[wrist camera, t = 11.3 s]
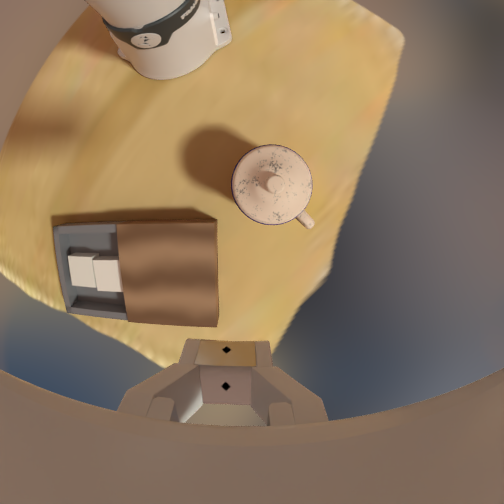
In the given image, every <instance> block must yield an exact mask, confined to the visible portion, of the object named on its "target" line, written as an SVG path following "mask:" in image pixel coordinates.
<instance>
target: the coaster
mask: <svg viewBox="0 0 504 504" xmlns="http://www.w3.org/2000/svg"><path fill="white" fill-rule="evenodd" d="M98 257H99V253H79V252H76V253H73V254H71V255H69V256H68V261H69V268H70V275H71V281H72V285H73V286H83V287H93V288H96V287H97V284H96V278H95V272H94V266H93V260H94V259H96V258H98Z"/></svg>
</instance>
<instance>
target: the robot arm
mask: <svg viewBox="0 0 504 504" xmlns="http://www.w3.org/2000/svg"><path fill="white" fill-rule="evenodd" d="M85 1H86V2H87V3H88V4H89V5H90V6H91V7H93V8H94V9H95V10H96V11H97V12H98V13H99V14H100V15H101V16H102V19H103V22H104V24H105V25H106V28H107V29H108V30H109V31H110V35H111V37H112V38H113V40H114V41H115V43H116V44H117V46H118V47H119V49H118V54H119V56H120V57H121V58H123V59H125V60H127V61H129V62H131V64H132V65H133V67H134V68H135V70H136V71H137V72H139V73H140V74H141V75H143V76H145V77H148V78H151V79H158V80H164V79H172V78H176V77H180V76H183V75H185V74H187V73H189V72H191V71H193V70H195V69H196V68H198V67H199V66H201V65H202V64H203V63H204V62H205V61H206V60H207V59H208V58H209V57H210V56H211V55H212V54H213V53H214V52H215V51H216V50H218V49H220V48H222V47H224V46H226V45H227V44H229V43H230V42H231V41H232V35H231V30H230V26H229V22H228V17H227V13H226V8H225V4H224V0H85ZM221 32H225V33H223V34H222V33H221ZM203 403H206V404H234V405H235V404H236V405H251V407H252V408H253V410H254V411H255V412H256V413H257V414H258V416H259V417H260V418H261V419H262V420H263V422H264V423H265V424H266V425H267V426H218V425H203V424H191V423H185V422H186V421H187V420H188V419H189V418H190V417H191V416H192V415H193V414H194V413H195V412H196V411H197V410H198V409H199V408H200V407H201V406H202V405H203ZM0 504H504V368H502V369H501V370H499V371H497V372H495V373H493V374H491V375H488V376H486V377H484V378H482V379H480V380H477V381H475V382H473V383H471V384H468V385H466V386H463V387H461V388H458V389H456V390H453V391H450V392H448V393H445V394H442V395H439V396H436V397H433V398H430V399H427V400H424V401H421V402H417V403H414V404H411V405H407V406H403V407H400V408H395V409H391V410H387V411H383V412H379V413H374V414H369V415H365V416H359V417H353V418H347V419H342V420H335V421H328V418H327V415H326V411H325V408H324V405H323V402H322V399H321V398H319V397H318V396H317V395H315V394H314V393H312V392H311V391H309V390H308V389H306V388H305V387H304V386H302V385H301V384H300V383H298V382H297V381H296V380H294V379H293V378H292V377H290V376H289V375H288V374H286V373H285V372H283V371H282V370H281V369H280V368H278V367H273V363H272V356H271V350H270V343H269V341H219V340H203V339H187V340H186V342H185V345H184V348H183V351H182V354H181V357H180V360H179V363H174V364H172V365H170V366H169V367H167V368H165V369H164V370H162V371H160V372H159V373H157V374H155V375H153V376H152V377H150V378H148V379H147V380H145V381H143V382H141V383H140V384H138V385H136V386H134V387H133V388H131V389H129V390H127V392H126V394H125V395H124V397H123V400H122V401H121V403H120V406H119V408H118V410H117V411H113V410H109V409H104V408H100V407H97V406H93V405H90V404H86V403H83V402H80V401H76V400H73V399H70V398H67V397H64V396H61V395H58V394H56V393H53V392H50V391H48V390H45V389H42V388H39V387H37V386H35V385H32V384H30V383H28V382H25V381H23V380H21V379H19V378H17V377H14V376H12V375H10V374H8V373H6V372H4V371H2V370H0Z"/></svg>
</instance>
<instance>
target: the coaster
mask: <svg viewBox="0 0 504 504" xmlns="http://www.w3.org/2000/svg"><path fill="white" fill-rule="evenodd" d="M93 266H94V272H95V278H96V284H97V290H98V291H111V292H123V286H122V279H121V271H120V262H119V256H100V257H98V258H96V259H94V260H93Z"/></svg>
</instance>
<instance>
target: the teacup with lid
mask: <svg viewBox="0 0 504 504" xmlns="http://www.w3.org/2000/svg"><path fill="white" fill-rule="evenodd" d="M231 190H232V194H233V198H234V200H235V202H236V204H237V206H238V208H239V209H240V210H241V211H242V212H243V213H244V214H245V215H246V216H247V217H249V218H250V219H252V220H253V221H256V222H258V223H261V224H266V225H279V224H283V223H286V222H289V221H291V220H293V219H294V218H296V219H297V220H298V221H299V222H300V223H301V224H302V225H303V226H304V227H306V228H307V229H311V228H312V227H313V226H314V224H315V223H314V220H313V219H312V218H311V217H310V216H309V215H308V214H307V212H306V211H305V210H304V209H305V208H306V206H307V204H308V202H309V200H310V197H311V194H312V177H311V173H310V170H309V168H308V166H307V164H306V163H305V161H304V160H303V159H302V158H301V157H300V156H299V155H298V154H297V153H296V152H294V151H293V150H291V149H289V148H287V147H284V146H280V145H263V146H259V147H256V148H254V149H252V150H250V151H249V152H247V153H246V154H245V155H244V156H243V157H242V158H241V159H240V160H239V161H238V163H237V165H236V166H235V169H234V171H233V174H232V180H231Z"/></svg>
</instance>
